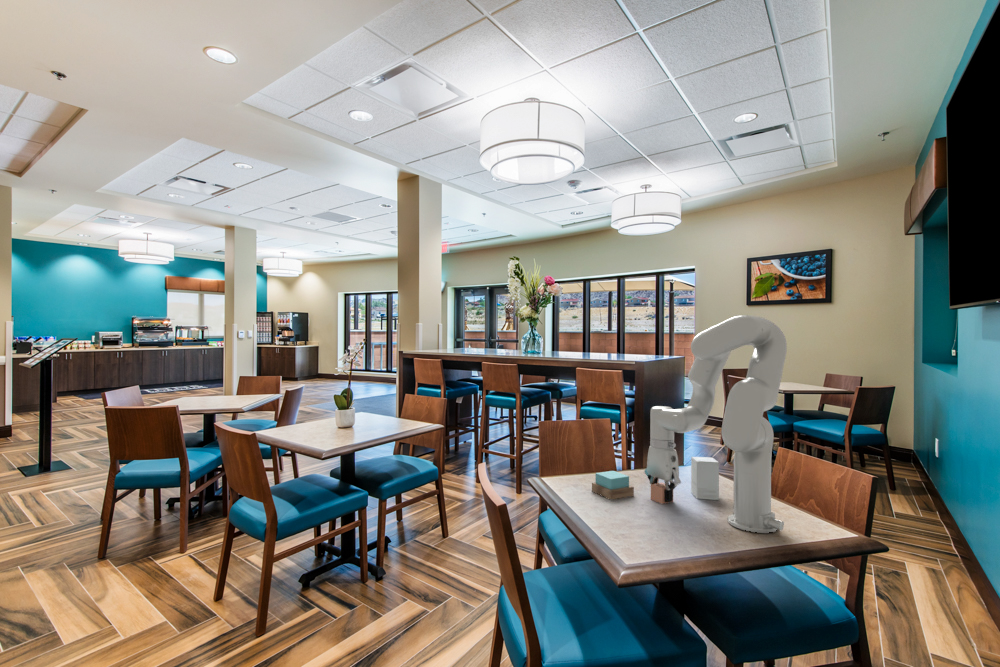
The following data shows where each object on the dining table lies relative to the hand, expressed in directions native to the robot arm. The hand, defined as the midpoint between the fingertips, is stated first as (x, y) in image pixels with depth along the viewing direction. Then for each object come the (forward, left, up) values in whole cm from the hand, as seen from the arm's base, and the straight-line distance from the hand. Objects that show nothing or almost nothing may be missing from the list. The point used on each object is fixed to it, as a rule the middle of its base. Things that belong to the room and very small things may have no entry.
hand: (661, 498), depth 155 cm
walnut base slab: (+13, +10, -1) cm, 16 cm away
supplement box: (-3, -17, -1) cm, 17 cm away
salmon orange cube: (0, 0, -1) cm, 1 cm away
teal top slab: (+13, +10, +2) cm, 17 cm away
